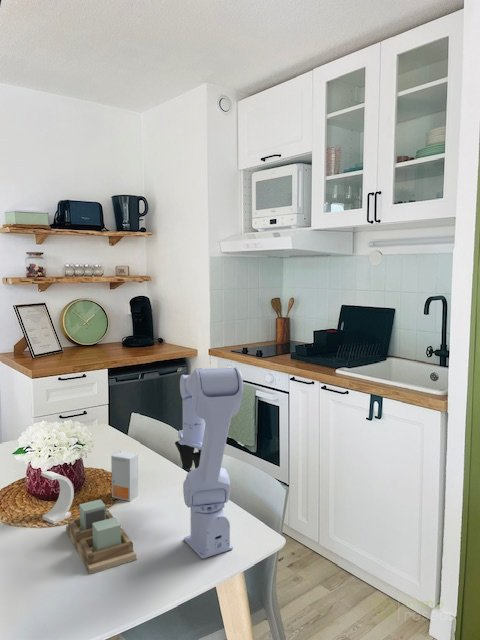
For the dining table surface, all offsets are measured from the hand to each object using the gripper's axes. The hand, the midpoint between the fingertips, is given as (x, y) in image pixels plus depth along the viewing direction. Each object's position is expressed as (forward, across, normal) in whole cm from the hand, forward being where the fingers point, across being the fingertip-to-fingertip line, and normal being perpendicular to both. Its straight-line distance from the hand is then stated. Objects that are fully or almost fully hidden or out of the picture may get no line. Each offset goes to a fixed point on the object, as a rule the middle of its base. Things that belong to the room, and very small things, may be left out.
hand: (194, 473), depth 130 cm
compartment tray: (+10, +2, -25) cm, 27 cm away
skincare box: (+11, -18, -12) cm, 24 cm away
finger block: (+9, +8, -25) cm, 28 cm away
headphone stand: (+11, -16, -30) cm, 36 cm away
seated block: (+9, -2, -25) cm, 27 cm away
